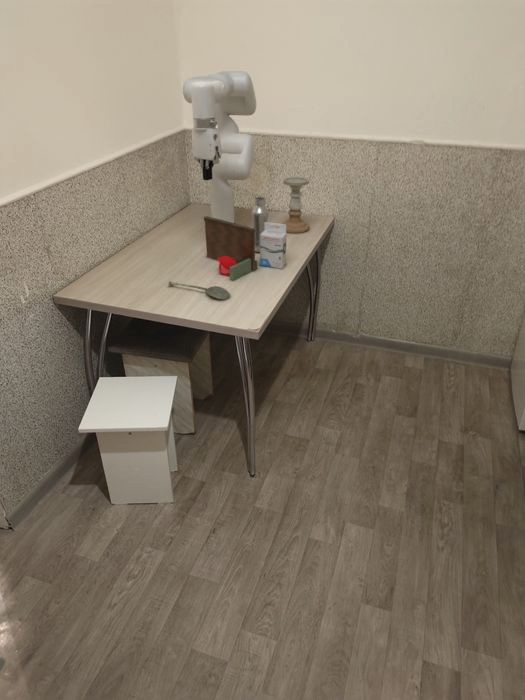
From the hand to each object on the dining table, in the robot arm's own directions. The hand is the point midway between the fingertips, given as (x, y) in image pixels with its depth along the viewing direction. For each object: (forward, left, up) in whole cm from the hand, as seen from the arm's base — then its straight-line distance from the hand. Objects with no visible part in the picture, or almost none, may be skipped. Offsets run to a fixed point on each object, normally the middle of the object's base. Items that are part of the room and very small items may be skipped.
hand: (207, 179), depth 180 cm
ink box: (+26, +4, -27) cm, 38 cm away
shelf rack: (+13, -9, -27) cm, 31 cm away
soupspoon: (+20, -28, -27) cm, 44 cm away
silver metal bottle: (+14, +12, -27) cm, 33 cm away
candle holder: (+10, +41, -27) cm, 50 cm away
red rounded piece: (+18, -11, -27) cm, 34 cm away
